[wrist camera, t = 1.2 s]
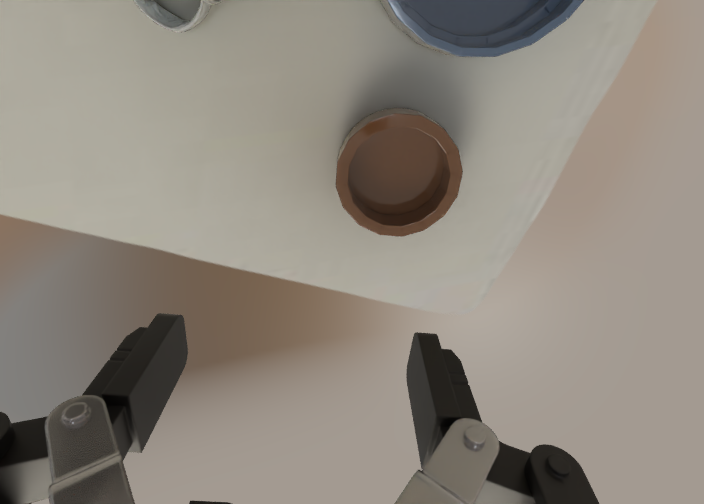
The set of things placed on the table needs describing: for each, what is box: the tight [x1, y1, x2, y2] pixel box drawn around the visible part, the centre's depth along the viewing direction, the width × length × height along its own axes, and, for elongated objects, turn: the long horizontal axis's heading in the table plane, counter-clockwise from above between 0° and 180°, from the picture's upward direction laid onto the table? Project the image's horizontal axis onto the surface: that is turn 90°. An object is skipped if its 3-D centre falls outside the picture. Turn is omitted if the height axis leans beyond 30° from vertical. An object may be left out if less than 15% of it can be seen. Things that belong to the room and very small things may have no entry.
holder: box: [336, 108, 463, 236], centre depth 35 cm, size 10×10×4 cm
